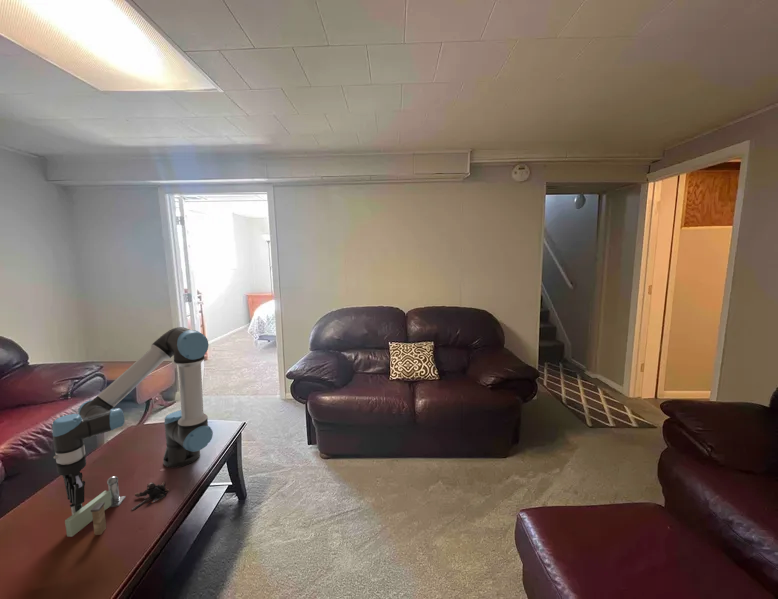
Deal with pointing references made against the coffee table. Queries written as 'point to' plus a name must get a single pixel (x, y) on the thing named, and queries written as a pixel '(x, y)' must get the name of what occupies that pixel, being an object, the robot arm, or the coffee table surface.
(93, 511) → the block
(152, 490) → the stuffed animal
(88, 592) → the coffee table surface
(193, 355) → the robot arm
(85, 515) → the gate
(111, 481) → the hinge post
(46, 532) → the coffee table surface
